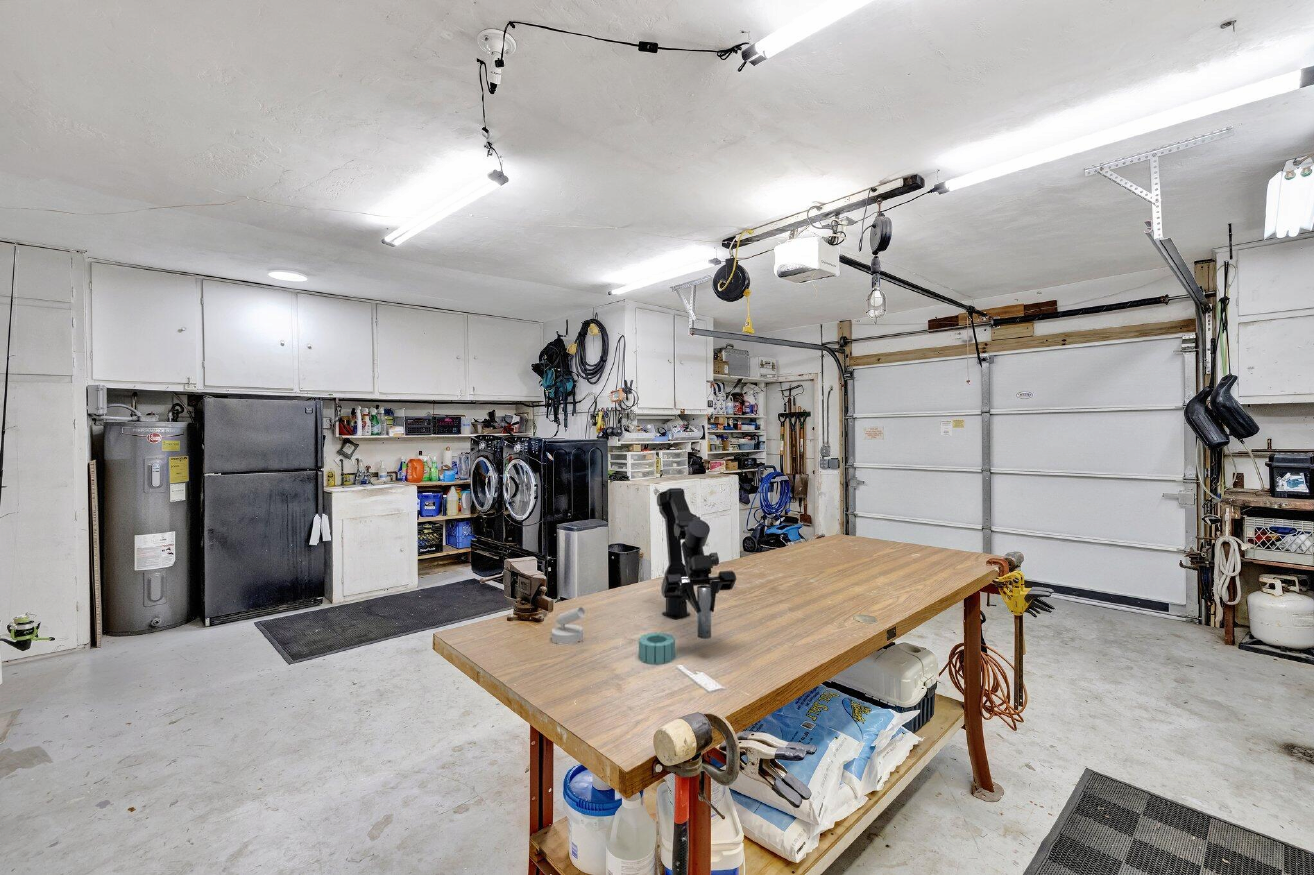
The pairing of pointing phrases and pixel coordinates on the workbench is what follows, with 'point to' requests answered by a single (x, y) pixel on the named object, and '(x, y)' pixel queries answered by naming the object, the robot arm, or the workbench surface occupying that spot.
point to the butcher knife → (701, 680)
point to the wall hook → (568, 627)
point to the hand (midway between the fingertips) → (705, 612)
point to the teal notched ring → (656, 648)
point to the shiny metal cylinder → (704, 612)
